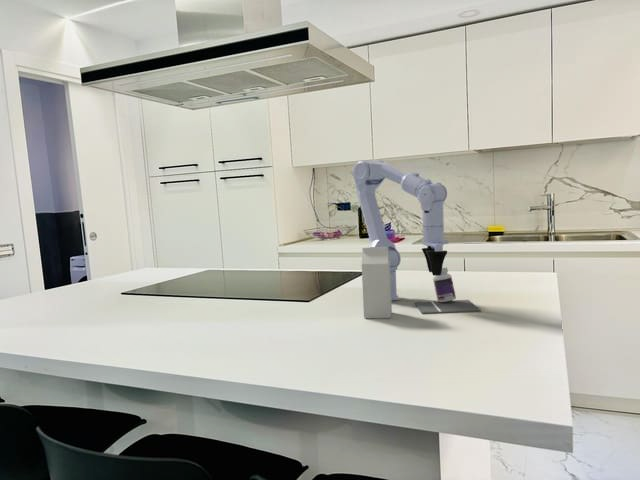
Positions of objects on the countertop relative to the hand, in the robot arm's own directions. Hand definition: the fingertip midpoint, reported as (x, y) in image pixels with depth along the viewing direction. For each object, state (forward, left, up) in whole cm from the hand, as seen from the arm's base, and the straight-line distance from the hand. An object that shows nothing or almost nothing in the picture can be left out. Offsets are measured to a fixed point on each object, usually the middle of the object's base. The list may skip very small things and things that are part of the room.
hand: (434, 273), depth 142 cm
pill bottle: (+4, +5, -9) cm, 11 cm away
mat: (+3, 0, -10) cm, 10 cm away
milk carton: (-17, -6, -10) cm, 21 cm away
